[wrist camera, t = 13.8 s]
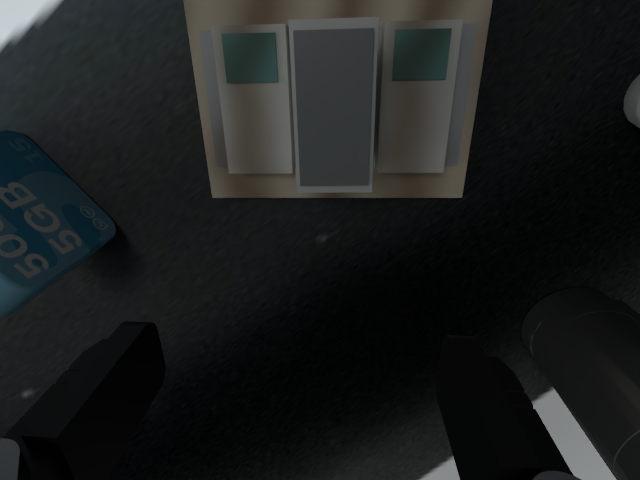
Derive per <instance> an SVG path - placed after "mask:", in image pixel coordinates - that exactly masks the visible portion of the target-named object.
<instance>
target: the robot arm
mask: <svg viewBox="0 0 640 480" xmlns="http://www.w3.org/2000/svg"><path fill="white" fill-rule="evenodd" d="M521 334H522V340H523V342H524V344H525V346H526V347H527V349H528V350H529V352H530V353H531V355H532V356H533V358H534V359H535V360H536V362H537V363H538V365H539V366H540V368H541V369H542V371H543V372H544V374H545V375H546V377H547V378H548V380H549V381H550V383H551V384H552V386H553V387H554V389H555V390H556V391H557V393H558V394H559V396H560V397H561V399H562V400H563V402H564V403H565V405H566V406H567V408H568V409H569V411H570V412H571V413H572V415H573V416H574V418H575V419H576V421H577V422H578V423H579V425H580V427H581V428H582V430H583V431H584V432H585V434H586V435H587V437H588V438H589V440H590V441H591V443H592V444H593V446H594V447H595V449H596V450H597V452H598V453H599V454H600V456H601V457H602V459H603V460H604V462H605V463H606V465H607V466H608V467H609V469H610V470H611V472H612V473H613V475H614V476H615V478H616V479H617V480H640V314H638V313H637V312H636V311H635V310H633V309H632V308H631V307H630V306H628V305H627V304H626V303H625V302H623V301H615V300H612V299H610V298H609V297H608V296H607V295H605V294H604V293H602V292H600V291H598V290H595V289H591V288H581V287H575V288H569V289H564V290H561V291H557V292H555V293H552V294H550V295H548V296H546V297H545V298H543V299H542V300H540V301H539V302H538V303H536V304H535V305H534V306H533V307H532V308H531V309H530V311H529V312H528V314H527V315H526V317H525V319H524V321H523V324H522V330H521ZM165 369H166V368H165V361H164V356H163V352H162V348H161V343H160V339H159V334H158V330H157V327H156V325H155V324H154V323H152V322H123V323H122V324H121V325H120V326H119V327H118V328H117V329H116V330H115V331H114V332H113V334H112V335H111V336H110V337H109V338H108V339H103V340H101V341H100V342H98V343H96V344H95V345H93V346H92V347H90V348H89V349H87V350H86V351H84V352H83V353H82V354H81V355H80V356H79V357H78V358H77V359H76V360H75V361H74V362H73V364H72V365H71V366H70V367H69V370H68V371H65V372H64V373H63V374H62V375H61V376H60V377H59V378H58V379H57V382H56V384H53V385H52V386H51V387H50V388H49V389H48V390H47V391H46V392H45V393H44V394H43V395H42V396H41V397H40V399H39V400H38V401H37V402H36V403H35V404H34V405H33V406H32V407H31V408H30V409H29V410H28V411H27V412H26V413H25V414H24V416H23V417H22V418H21V419H20V420H19V421H18V422H17V423H16V424H15V425H14V426H13V427H12V428H11V429H10V430H9V431H8V433H7V434H6V435H5V436H4V437H3V438H0V480H107V479H108V477H109V475H110V473H111V472H112V470H113V468H114V467H115V465H116V463H117V461H118V460H119V458H120V456H121V455H122V453H123V451H124V450H125V448H126V446H127V444H128V443H129V441H130V439H131V438H132V436H133V434H134V432H135V431H136V429H137V427H138V426H139V424H140V422H141V421H142V419H143V417H144V415H145V414H146V412H147V410H148V409H149V407H150V405H151V403H152V402H153V400H154V398H155V397H156V395H157V393H158V392H159V390H160V388H161V386H162V384H163V381H164V377H165ZM436 393H437V400H438V404H439V407H440V411H441V414H442V418H443V421H444V425H445V428H446V432H447V435H448V439H449V442H450V446H451V449H452V452H453V456H454V459H455V463H456V466H457V470H458V473H459V477H460V480H581V479H579V478H577V477H575V476H574V475H573V474H572V472H571V471H570V469H569V467H568V466H567V464H566V462H565V460H564V459H563V457H562V455H561V453H560V452H559V450H558V448H557V446H556V445H555V443H554V441H553V439H552V438H551V436H550V434H549V432H548V431H547V429H546V427H545V425H544V424H543V422H542V420H541V418H540V417H539V415H538V413H537V412H536V410H535V409H533V404H532V403H531V401H530V399H529V397H528V396H527V394H525V393H524V389H523V387H522V385H521V384H520V382H519V380H518V378H517V377H516V375H515V373H514V372H513V371H512V370H511V369H510V368H509V367H508V366H506V365H505V364H504V363H503V362H502V361H501V360H500V359H499V358H498V357H486V355H485V353H484V351H483V349H482V347H481V345H480V343H479V341H478V339H477V338H476V337H475V336H455V335H446V336H445V337H444V339H443V344H442V349H441V355H440V360H439V366H438V371H437V377H436Z"/></svg>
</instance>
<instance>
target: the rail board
mask: <svg viewBox="0 0 640 480" xmlns="http://www.w3.org/2000/svg"><path fill="white" fill-rule="evenodd" d="M492 1H493V0H183V2H184V8H185V15H186V22H187V29H188V35H189V42H190V49H191V56H192V63H193V69H194V76H195V83H196V90H197V97H198V103H199V110H200V117H201V124H202V131H203V137H204V144H205V151H206V158H207V165H208V171H209V178H210V185H211V192H212V198H462V195H463V188H464V182H465V175H466V169H467V162H468V156H469V149H470V143H471V136H472V130H473V124H474V117H475V111H476V104H477V98H478V91H479V85H480V78H481V72H482V65H483V59H484V52H485V46H486V40H487V33H488V27H489V20H490V14H491V7H492ZM357 17H379V25H378V50H377V75H376V101H375V126H374V151H373V176H372V192H338V193H297V183H296V163H295V143H294V124H293V104H292V84H291V64H290V44H289V24H288V20H295V19H326V18H357Z"/></svg>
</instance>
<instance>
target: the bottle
mask: <svg viewBox="0 0 640 480" xmlns="http://www.w3.org/2000/svg"><path fill="white" fill-rule="evenodd" d="M623 110H624V112H625V115H626V117H627V119H628V120H629V121H630V122H631V123H633V124H634V125H636V126H637V127H639V128H640V74H639V75H638V76H637V78H636V79H635V80H634V81H633V82H632V83H631V84H630V86H629V88H628V90H627V93H626V95H625V97H624V109H623Z"/></svg>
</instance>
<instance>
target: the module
mask: <svg viewBox="0 0 640 480" xmlns="http://www.w3.org/2000/svg"><path fill="white" fill-rule="evenodd" d="M288 24H289V44H290V64H291V84H292V104H293V124H294V143H295V163H296V183H297V193H338V192H372V176H373V151H374V126H375V101H376V75H377V50H378V25H379V17H357V18H326V19H295V20H288Z"/></svg>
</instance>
